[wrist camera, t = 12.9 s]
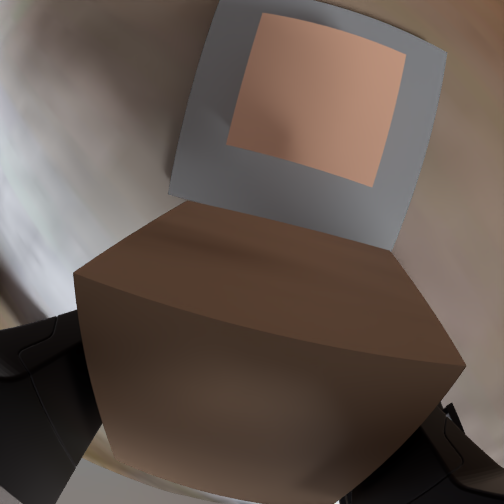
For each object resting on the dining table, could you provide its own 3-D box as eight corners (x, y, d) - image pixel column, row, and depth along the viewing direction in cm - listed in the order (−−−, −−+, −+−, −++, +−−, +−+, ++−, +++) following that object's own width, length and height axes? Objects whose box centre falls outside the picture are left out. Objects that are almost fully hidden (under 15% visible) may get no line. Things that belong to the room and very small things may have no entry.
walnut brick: (324, 392, 10) (326, 509, 6) (172, 356, 11) (115, 459, 6) (389, 250, 8) (466, 366, 3) (187, 200, 8) (72, 272, 4)
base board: (381, 251, 18) (387, 260, 17) (177, 190, 19) (167, 194, 18) (437, 57, 13) (447, 52, 12) (230, -4, 14) (224, -13, 12)
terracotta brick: (351, 175, 15) (372, 187, 11) (247, 144, 16) (226, 144, 11) (377, 78, 13) (406, 54, 9) (273, 47, 14) (262, 12, 9)
